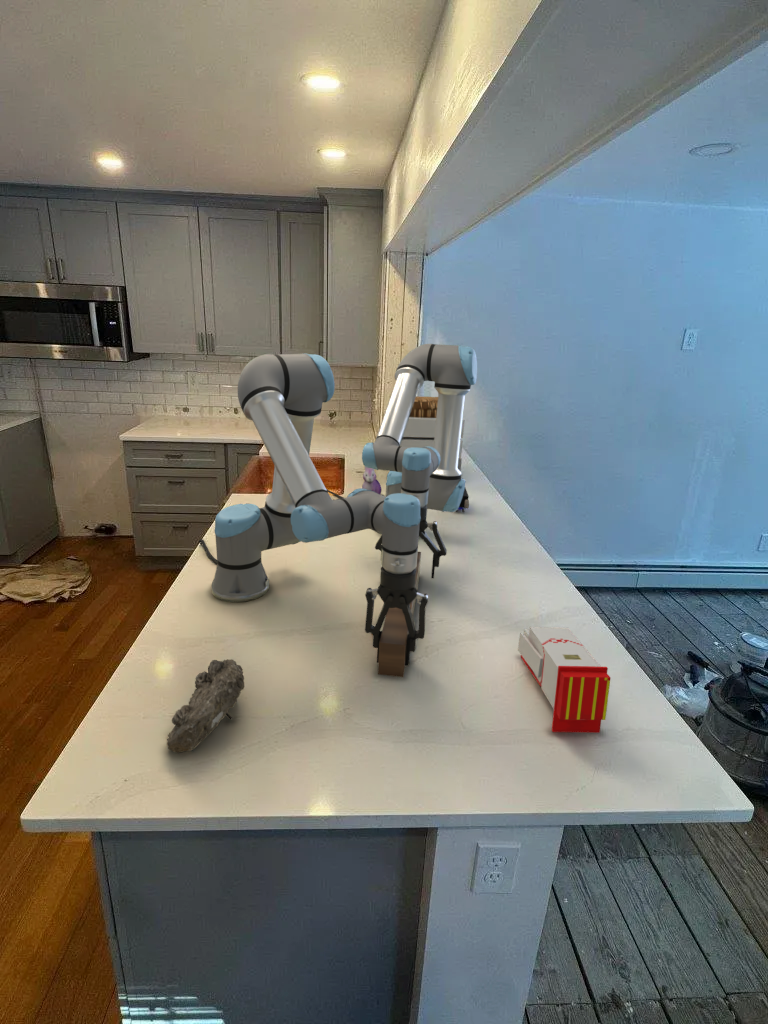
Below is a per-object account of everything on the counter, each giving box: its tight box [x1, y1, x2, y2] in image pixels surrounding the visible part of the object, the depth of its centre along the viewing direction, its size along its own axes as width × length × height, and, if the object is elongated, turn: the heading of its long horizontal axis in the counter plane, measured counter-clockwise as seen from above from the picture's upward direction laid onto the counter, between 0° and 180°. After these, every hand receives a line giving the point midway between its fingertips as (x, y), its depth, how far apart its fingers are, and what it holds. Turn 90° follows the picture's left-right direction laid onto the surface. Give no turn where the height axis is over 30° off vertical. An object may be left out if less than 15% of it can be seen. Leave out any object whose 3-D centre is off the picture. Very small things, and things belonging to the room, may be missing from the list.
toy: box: [517, 626, 611, 734], centre depth 119 cm, size 12×13×30 cm
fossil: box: [166, 658, 245, 754], centre depth 106 cm, size 22×10×15 cm
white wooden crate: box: [400, 395, 465, 473], centre depth 268 cm, size 34×33×41 cm
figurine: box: [361, 466, 382, 495], centre depth 234 cm, size 9×10×15 cm
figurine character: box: [455, 487, 470, 513], centre depth 227 cm, size 7×8×15 cm
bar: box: [377, 551, 422, 678], centre depth 144 cm, size 50×6×8 cm, turn 173°
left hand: (393, 660), depth 127 cm, fingers closed on bar, 6 cm apart
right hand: (409, 574), depth 163 cm, fingers open, 13 cm apart
